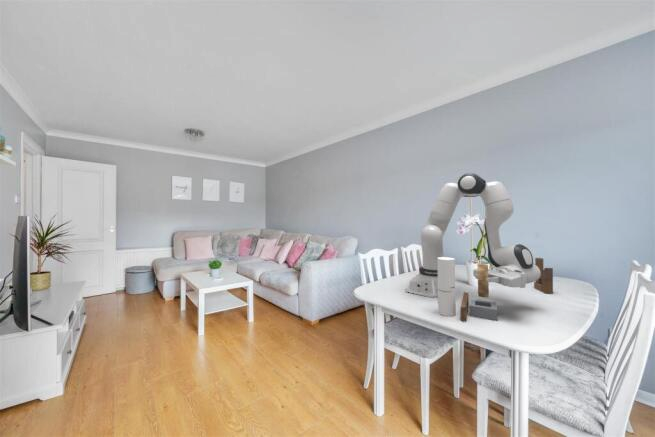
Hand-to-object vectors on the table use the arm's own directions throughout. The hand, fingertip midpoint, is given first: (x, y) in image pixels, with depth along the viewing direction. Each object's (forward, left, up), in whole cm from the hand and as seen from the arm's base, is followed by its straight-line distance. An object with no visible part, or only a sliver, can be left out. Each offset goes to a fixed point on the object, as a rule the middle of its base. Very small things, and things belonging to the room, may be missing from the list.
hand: (481, 278), depth 110 cm
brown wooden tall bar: (+1, +1, -8) cm, 8 cm away
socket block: (+1, +1, -16) cm, 17 cm away
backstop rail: (-6, 0, -16) cm, 17 cm away
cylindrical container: (-13, -5, -16) cm, 22 cm away
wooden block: (+29, +54, -16) cm, 63 cm away
